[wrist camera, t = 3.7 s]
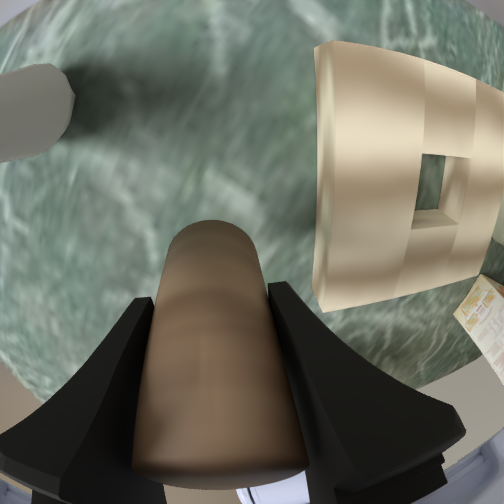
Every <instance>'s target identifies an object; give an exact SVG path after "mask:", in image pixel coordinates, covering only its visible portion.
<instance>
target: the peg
mask: <svg viewBox="0 0 504 504" xmlns="http://www.w3.org/2000/svg"><path fill="white" fill-rule="evenodd" d="M309 465H310V462H309V458H308V453H307V449H306V445H305V441H304V437H303V433H302V429H301V425H300V421H299V417H298V413H297V409H296V405H295V401H294V397H293V393H292V389H291V385H290V381H289V377H288V373H287V369H286V365H285V361H284V358H283V354H282V350H281V346H280V342H279V338H278V334H277V330H276V326H275V322H274V318H273V314H272V310H271V307H270V303H269V299H268V295H267V291H266V287H265V283H264V279H263V275H262V271H261V267H260V263H259V260H258V256H257V252H256V248H255V246H254V243H253V241H252V240H251V239H250V237H249V236H248V235H247V234H246V233H245V232H244V231H243V230H242V229H240V228H239V227H237V226H235V225H233V224H231V223H228V222H224V221H219V220H205V221H199V222H196V223H193V224H191V225H189V226H187V227H185V228H184V229H182V230H181V231H180V232H179V233H178V234H177V235H176V236H175V237H174V239H173V240H172V242H171V244H170V246H169V249H168V253H167V256H166V260H165V264H164V268H163V272H162V276H161V281H160V285H159V289H158V293H157V298H156V302H155V307H154V311H153V316H152V321H151V326H150V331H149V336H148V341H147V347H146V352H145V358H144V364H143V370H142V376H141V383H140V390H139V397H138V405H137V413H136V421H135V431H134V441H133V453H132V467H131V468H132V470H133V471H134V472H135V473H136V474H138V475H139V476H141V477H143V478H146V479H148V480H151V481H154V482H157V483H161V484H165V485H169V486H175V487H181V488H189V489H201V490H203V489H204V490H229V489H242V488H250V487H256V486H262V485H267V484H271V483H275V482H279V481H282V480H285V479H288V478H291V477H293V476H295V475H297V474H300V473H301V472H303V471H305V470H306V469H307V468H308V467H309Z"/></svg>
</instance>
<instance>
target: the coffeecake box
mask: <svg viewBox="0 0 504 504" xmlns="http://www.w3.org/2000/svg"><path fill="white" fill-rule="evenodd" d="M453 315H454V316H455V317H456V319H457V320H458V321H459V323H460V324H461V325H462V326H463V328H464V329H465V330H466V332H467V333H468V334H469V336H470V337H471V338H472V340H473V341H474V342H475V344H476V345H477V346H478V348H479V349H480V351H481V352H482V353H483V355H484V356H485V358H486V359H487V361H488V362H489V364H490V365H491V367H492V368H493V370H494V371H495V373H496V374H497V376H498V377H499V379H500V380H501V382H502V384H503V385H504V286H503V285H501V284H499V283H497V282H496V281H494V280H492V279H490V278H488V277H486V276H485V275H483V274H480V276H479V277H478V279H477V280H476V282H475V283H474V285H473V286H472V288H471V290H470V291H469V293H468V294H467V296H466V297H465V298H464V300H463V301H462V302H461V304H460V305H459V306H458V308H457V309H456V310H455V312H454V313H453Z"/></svg>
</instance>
